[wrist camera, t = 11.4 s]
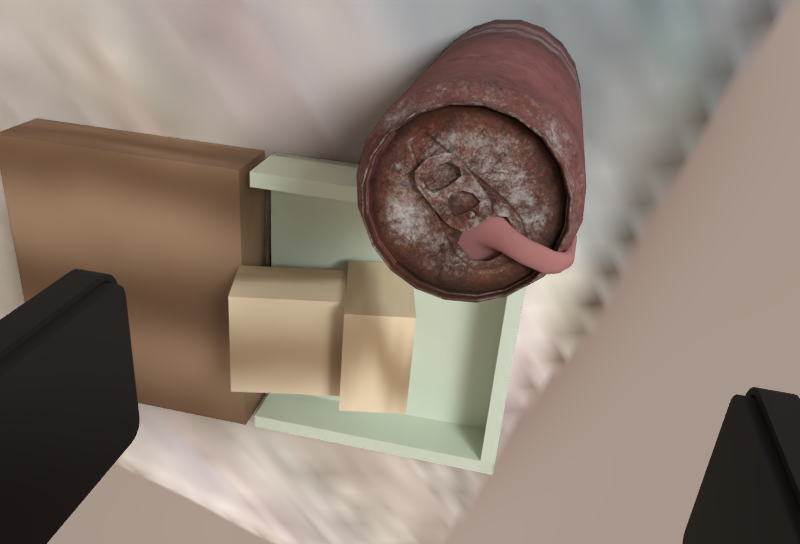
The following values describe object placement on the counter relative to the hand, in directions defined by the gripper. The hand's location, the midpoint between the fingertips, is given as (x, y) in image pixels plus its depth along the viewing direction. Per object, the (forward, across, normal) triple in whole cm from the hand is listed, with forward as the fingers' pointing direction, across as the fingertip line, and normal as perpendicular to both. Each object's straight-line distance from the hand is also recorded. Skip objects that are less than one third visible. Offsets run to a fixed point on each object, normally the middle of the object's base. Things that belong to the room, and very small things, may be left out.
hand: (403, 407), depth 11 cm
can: (+22, 0, 0) cm, 22 cm away
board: (+22, +17, +11) cm, 30 cm away
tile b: (+19, +6, +11) cm, 22 cm away
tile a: (+20, +9, +11) cm, 24 cm away
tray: (+22, +4, +11) cm, 25 cm away
